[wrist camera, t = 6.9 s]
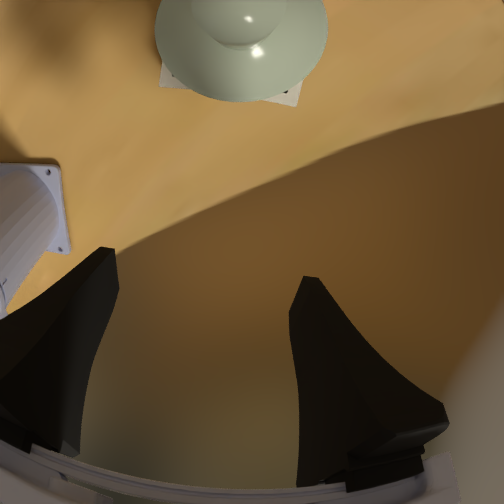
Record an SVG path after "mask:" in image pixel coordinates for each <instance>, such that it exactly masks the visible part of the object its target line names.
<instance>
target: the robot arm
mask: <svg viewBox="0 0 504 504" xmlns="http://www.w3.org/2000/svg"><path fill="white" fill-rule="evenodd" d="M48 169H49V170H50V172H51V173H49V171H48ZM60 247H61V248H62V249H61V248H60ZM45 251H49V252H55V253H60V254H65V255H68V254H69V253H70V252H71V245H70V239H69V234H68V228H67V221H66V215H65V207H64V199H63V191H62V181H61V170H60V168H59V166H58V165H55V164H29V163H0V502H1V503H3V504H113V499H112V498H110V497H107V496H104V495H101V494H99V493H96V492H95V491H92V490H89V489H86V488H84V487H81V486H78V485H75V484H73V483H70V482H68V480H67V478H66V477H65V476H67V477H70V478H73V479H76V480H79V481H82V482H85V483H88V484H91V485H94V486H97V487H101V488H104V489H108V490H111V491H115V492H119V493H123V494H127V495H132V496H136V497H141V498H146V499H151V500H156V501H162V502H169V503H176V504H459V503H460V502H461V497H460V492H459V488H458V483H457V479H456V475H455V470H454V466H453V463H452V459H451V455H450V452H449V451H446V452H444V453H441V454H438V455H435V456H432V457H430V458H427V459H425V460H422V459H421V454H423V453H424V452H425V449H424V446H423V445H424V444H425V443H427V442H428V441H430V440H432V439H433V438H435V437H437V436H438V435H440V434H441V433H442V432H444V431H445V430H446V429H447V428H448V426H449V420H448V417H447V414H446V411H445V408H444V405H443V403H441V402H440V401H438V400H436V399H435V398H433V397H432V396H430V395H429V394H427V393H426V392H424V391H422V390H421V389H419V388H418V387H417V386H415V385H414V384H413V383H411V382H410V381H409V380H408V379H406V378H405V377H404V376H403V375H401V374H400V373H399V372H398V371H397V370H396V369H394V368H393V367H392V366H391V365H390V364H389V363H387V361H385V360H384V359H383V358H382V357H381V356H380V355H379V353H377V351H376V350H375V349H374V348H373V347H372V346H371V345H370V344H369V343H368V342H367V341H366V340H365V339H364V337H363V336H362V335H361V334H360V333H359V331H358V330H357V329H356V328H355V327H354V325H353V324H352V323H351V322H350V320H349V319H348V318H347V316H346V315H345V314H344V312H343V311H342V310H341V308H340V307H339V306H338V304H337V303H336V301H335V300H334V299H333V297H332V296H331V295H330V293H329V292H328V290H327V289H326V287H325V286H324V285H323V283H322V282H321V281H320V280H319V278H316V277H308V276H303V278H302V281H301V283H300V286H299V288H298V291H297V293H296V296H295V298H294V301H293V303H292V306H291V308H290V310H289V333H290V341H291V347H292V354H293V360H294V365H295V371H296V378H297V384H298V393H299V457H298V470H297V480H296V485H297V488H286V489H221V488H207V487H196V486H187V485H179V484H172V483H165V482H159V481H153V480H148V479H143V478H138V477H133V476H129V475H125V474H121V473H117V472H113V471H109V470H105V469H102V468H98V467H95V466H91V465H89V464H85V463H82V462H79V461H76V460H73V459H71V458H68V457H65V456H62V455H60V454H57V453H61V454H64V455H66V456H69V457H75V456H77V455H79V454H80V435H81V423H82V414H83V406H84V401H85V395H86V389H87V385H88V380H89V375H90V371H91V367H92V364H93V360H94V357H95V355H96V352H97V349H98V347H99V344H100V342H101V339H102V337H103V334H104V331H105V329H106V327H107V324H108V322H109V319H110V317H111V314H112V312H113V309H114V306H115V302H116V299H117V295H118V291H119V282H118V275H117V266H116V257H115V249H113V248H107V247H99V248H98V249H97V250H95V251H94V252H93V253H92V254H90V255H89V256H88V257H87V258H85V259H84V260H83V261H82V262H81V263H79V264H78V265H77V266H76V267H75V268H73V269H72V270H71V271H70V272H69V273H67V274H66V275H65V276H64V277H62V278H61V279H60V280H59V281H57V282H56V283H55V284H53V285H52V286H51V287H50V288H48V289H47V290H46V291H44V292H43V293H42V294H40V295H39V296H38V297H36V298H35V299H33V300H32V301H30V302H29V303H27V304H26V305H24V306H23V307H21V308H19V309H18V310H16V311H14V312H13V313H11V314H9V315H8V314H7V312H6V307H7V306H8V304H9V302H10V301H11V299H12V298H13V296H14V295H15V293H16V291H17V290H18V288H19V287H20V285H21V284H22V282H23V281H24V280H25V278H26V277H27V275H28V274H29V272H30V271H31V269H32V268H33V267H34V265H35V264H36V263H37V261H38V260H39V258H40V257H41V256H42V254H43V253H44V252H45ZM51 450H52V451H54V452H52V451H51ZM55 452H57V453H55ZM64 475H65V476H64Z"/></svg>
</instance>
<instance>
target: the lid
mask: <svg viewBox="0 0 504 504" xmlns="http://www.w3.org/2000/svg"><path fill="white" fill-rule="evenodd" d="M327 35H328V20H327V15H326V10H325V7H324V5H323V2H322V0H162V1H161V3H160V6H159V8H158V11H157V15H156V20H155V41H156V45H157V49H158V52H159V54H160V56H161V59H162V61H163V62H164V64H165V65H166V67H167V68H168V70H169V71H170V72H171V73H172V75H173V76H174V77H176V78H177V79H178V80H179V81H180V82H181V83H182V84H184V85H185V86H187V87H188V88H190V89H191V90H193V91H195V92H197V93H199V94H202V95H204V96H207V97H210V98H213V99H217V100H222V101H229V102H250V101H257V100H263V99H266V98H270V97H273V96H276V95H278V94H281V93H283V92H285V91H287V90H289V89H290V88H292V87H294V86H295V85H296V84H298V83H299V82H301V81H302V80H303V79H304V78H305V77H306V76H307V75H308V74H309V73H310V72H311V71H312V70H313V68H314V67H315V66H316V64H317V63H318V61H319V59H320V58H321V56H322V53H323V51H324V48H325V45H326V41H327Z"/></svg>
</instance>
